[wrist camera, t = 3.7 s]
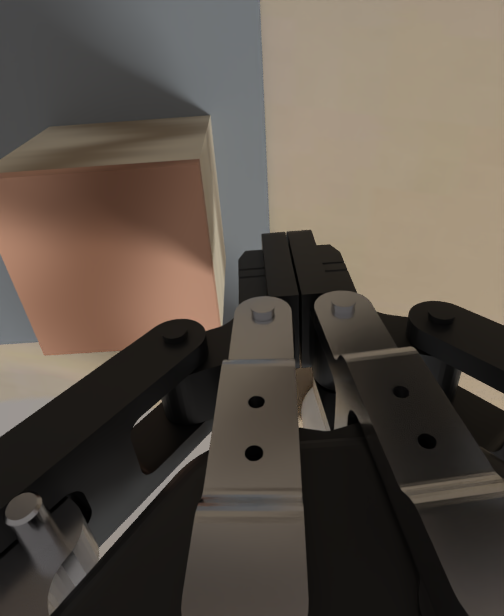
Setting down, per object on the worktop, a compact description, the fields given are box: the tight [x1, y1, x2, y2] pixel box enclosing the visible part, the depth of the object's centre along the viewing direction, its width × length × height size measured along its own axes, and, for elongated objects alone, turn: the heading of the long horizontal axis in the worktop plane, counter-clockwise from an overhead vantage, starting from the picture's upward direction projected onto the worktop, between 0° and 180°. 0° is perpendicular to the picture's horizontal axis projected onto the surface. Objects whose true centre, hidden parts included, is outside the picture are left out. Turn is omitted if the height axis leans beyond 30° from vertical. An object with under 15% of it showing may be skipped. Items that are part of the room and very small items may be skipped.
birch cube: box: [0, 115, 226, 355], centre depth 16 cm, size 6×6×6 cm
